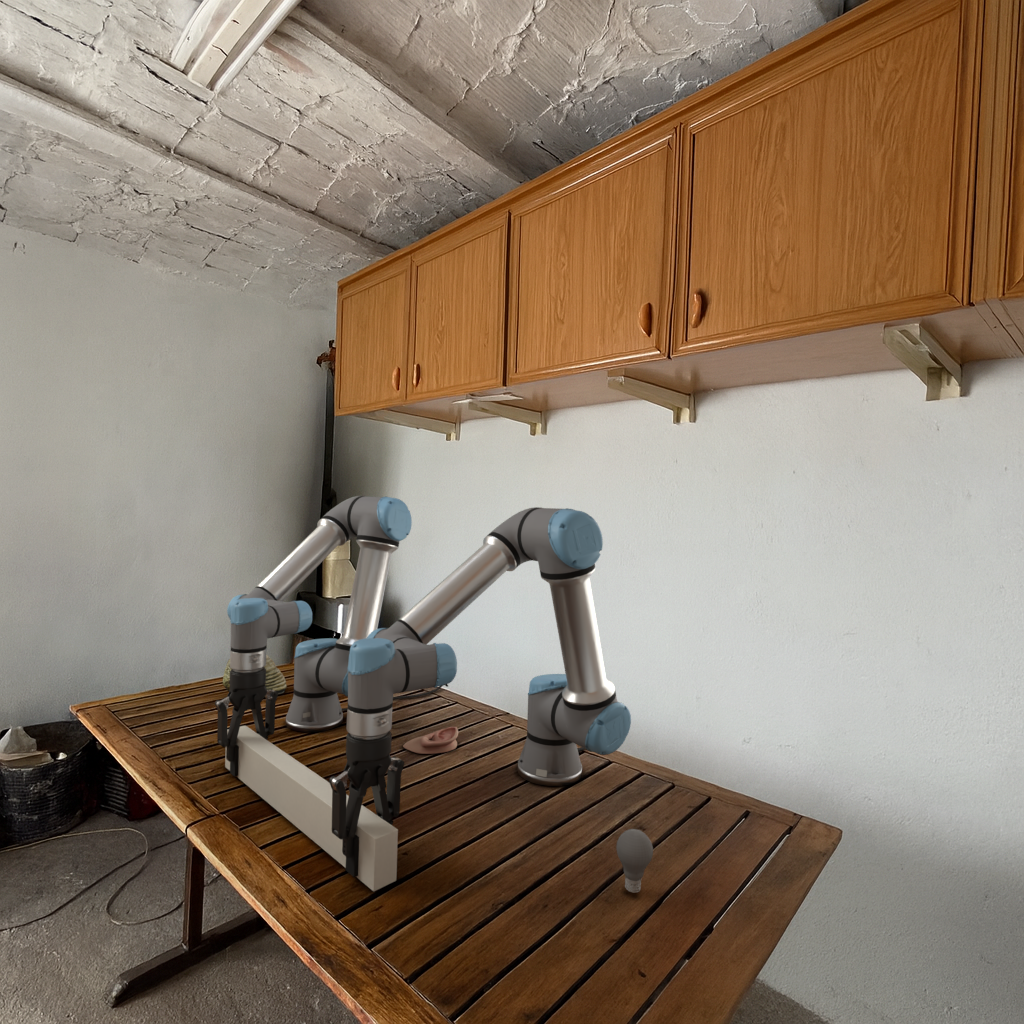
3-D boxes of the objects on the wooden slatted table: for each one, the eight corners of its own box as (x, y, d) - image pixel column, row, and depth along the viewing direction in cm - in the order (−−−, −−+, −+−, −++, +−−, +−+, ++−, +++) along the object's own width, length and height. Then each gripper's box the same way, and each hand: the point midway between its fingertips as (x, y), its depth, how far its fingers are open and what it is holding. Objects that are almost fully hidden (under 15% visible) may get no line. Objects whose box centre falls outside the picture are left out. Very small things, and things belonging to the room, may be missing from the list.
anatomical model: (398, 735, 159) (414, 720, 170) (398, 751, 159) (414, 734, 170) (449, 741, 156) (462, 725, 167) (448, 757, 156) (461, 740, 168)
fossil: (218, 695, 195) (220, 647, 195) (278, 685, 208) (279, 640, 207) (228, 703, 189) (230, 653, 188) (289, 692, 201) (290, 645, 201)
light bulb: (610, 879, 108) (613, 822, 108) (644, 879, 109) (647, 822, 109) (619, 902, 102) (622, 840, 102) (655, 901, 103) (658, 840, 103)
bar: (225, 767, 145) (225, 729, 145) (244, 761, 149) (245, 725, 148) (373, 891, 102) (375, 839, 102) (396, 880, 105) (398, 829, 105)
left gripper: (213, 679, 133) (211, 788, 134) (293, 665, 146) (290, 765, 146) (200, 671, 138) (198, 776, 139) (278, 658, 151) (275, 755, 152)
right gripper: (333, 752, 99) (329, 899, 99) (424, 725, 111) (420, 856, 112) (310, 737, 104) (306, 877, 105) (399, 714, 116) (395, 839, 117)
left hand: (245, 770), depth 143 cm, fingers closed on bar, 4 cm apart
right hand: (365, 866), depth 108 cm, fingers closed on bar, 4 cm apart
